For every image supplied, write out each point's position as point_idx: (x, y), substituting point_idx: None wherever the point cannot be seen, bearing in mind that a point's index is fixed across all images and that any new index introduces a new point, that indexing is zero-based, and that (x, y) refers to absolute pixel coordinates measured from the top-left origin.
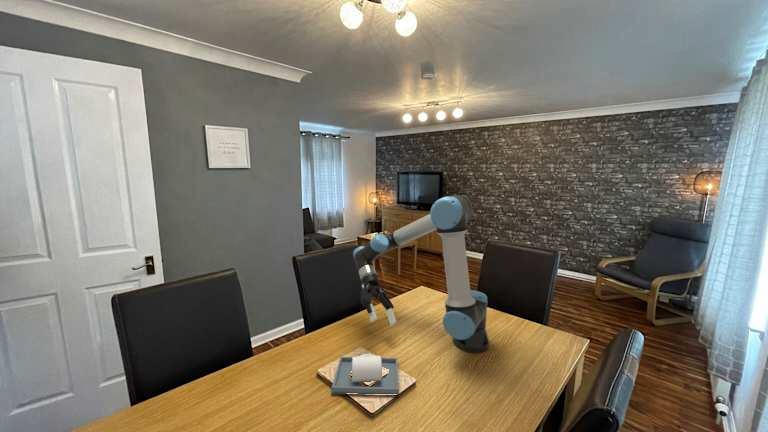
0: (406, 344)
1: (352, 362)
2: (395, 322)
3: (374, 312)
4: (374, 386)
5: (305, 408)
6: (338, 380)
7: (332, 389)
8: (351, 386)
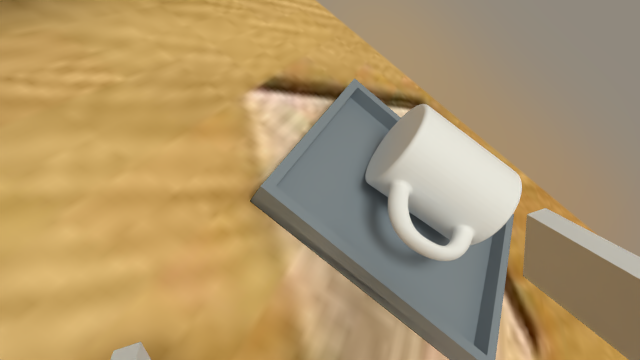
0: (20, 335)
1: (518, 175)
2: (135, 350)
3: (614, 255)
4: None
5: None
6: (485, 250)
7: None
8: None
